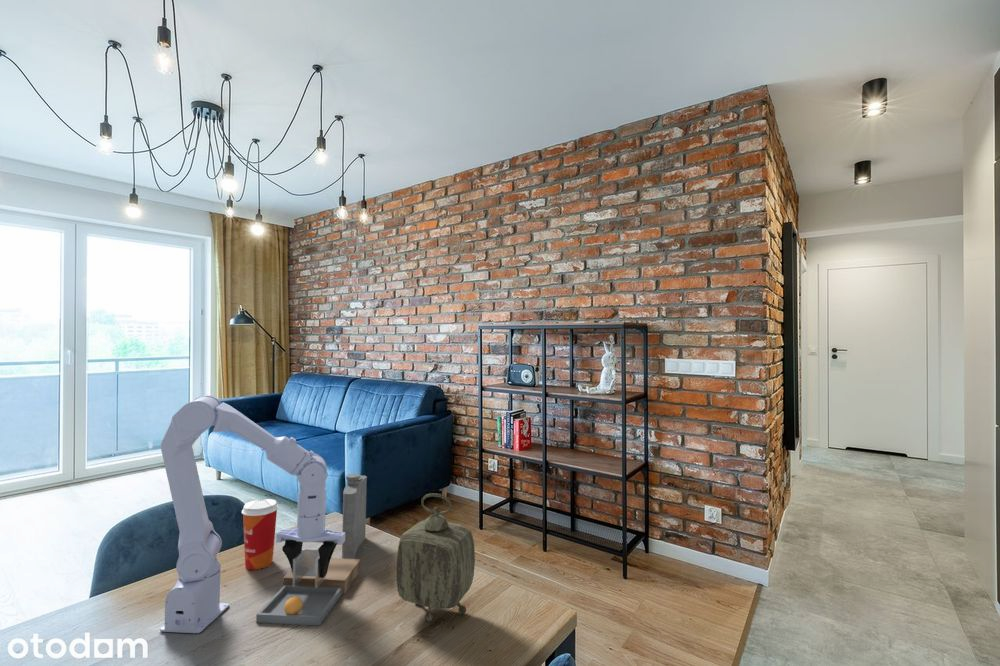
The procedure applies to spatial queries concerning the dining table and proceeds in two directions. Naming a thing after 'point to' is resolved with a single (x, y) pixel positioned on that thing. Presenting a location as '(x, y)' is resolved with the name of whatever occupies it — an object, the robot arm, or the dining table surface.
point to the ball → (293, 605)
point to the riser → (332, 574)
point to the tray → (313, 608)
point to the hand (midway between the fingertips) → (310, 575)
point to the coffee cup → (259, 532)
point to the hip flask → (354, 514)
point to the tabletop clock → (435, 562)
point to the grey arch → (307, 566)
